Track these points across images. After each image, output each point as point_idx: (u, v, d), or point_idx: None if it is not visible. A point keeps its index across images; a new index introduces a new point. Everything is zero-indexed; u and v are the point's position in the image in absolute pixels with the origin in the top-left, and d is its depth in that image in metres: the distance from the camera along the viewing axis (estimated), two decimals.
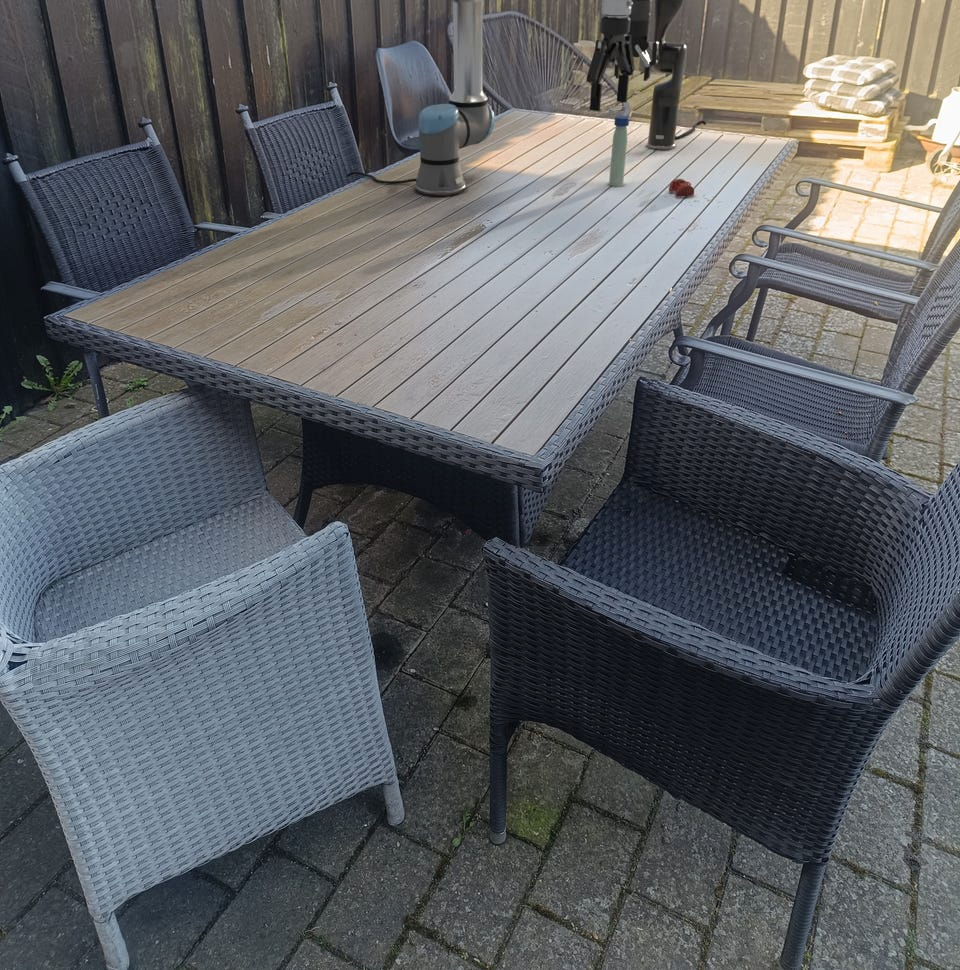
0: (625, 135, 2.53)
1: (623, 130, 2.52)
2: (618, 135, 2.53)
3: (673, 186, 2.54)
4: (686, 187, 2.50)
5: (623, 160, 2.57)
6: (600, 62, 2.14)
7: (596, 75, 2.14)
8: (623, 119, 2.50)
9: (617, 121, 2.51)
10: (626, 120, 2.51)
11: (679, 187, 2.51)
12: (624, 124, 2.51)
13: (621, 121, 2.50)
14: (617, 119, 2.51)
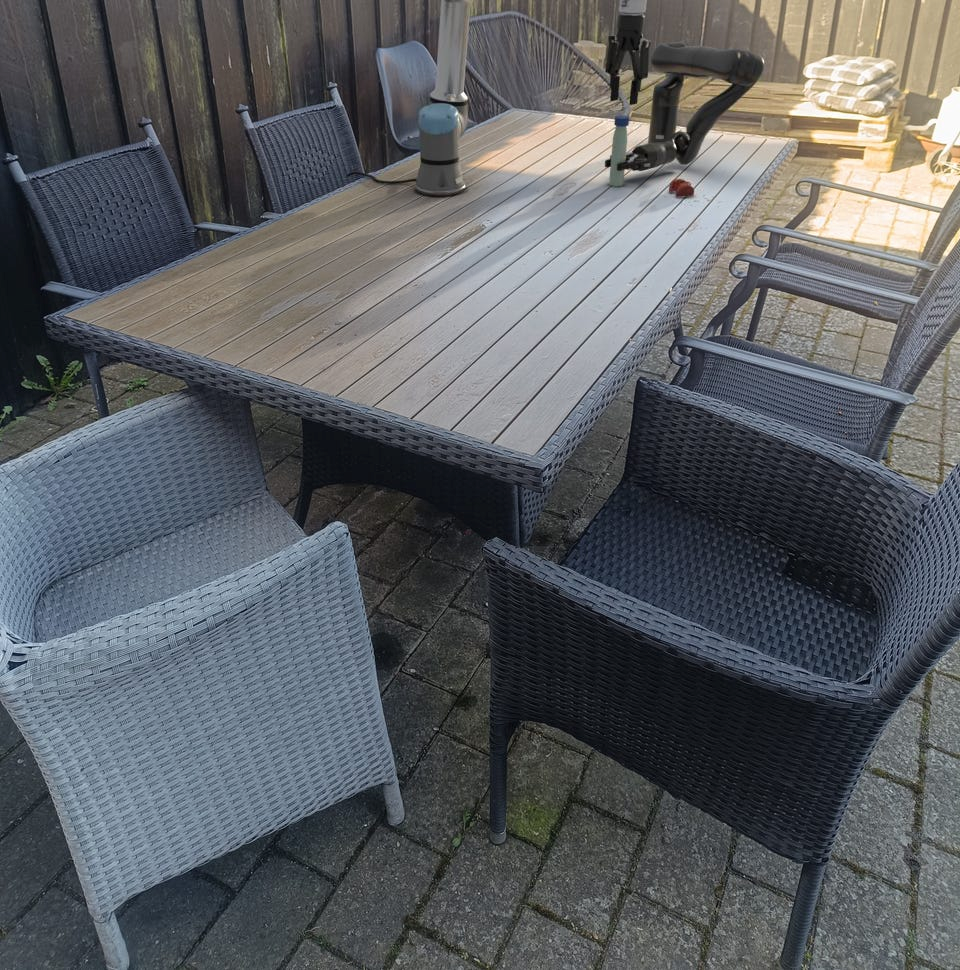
0: (625, 135, 2.53)
1: (623, 130, 2.52)
2: (618, 135, 2.53)
3: (673, 186, 2.54)
4: (686, 187, 2.50)
5: (623, 160, 2.57)
6: (608, 55, 2.45)
7: (606, 66, 2.47)
8: (623, 119, 2.50)
9: (617, 121, 2.51)
10: (626, 120, 2.51)
11: (679, 187, 2.51)
12: (624, 124, 2.51)
13: (621, 121, 2.50)
14: (617, 119, 2.51)
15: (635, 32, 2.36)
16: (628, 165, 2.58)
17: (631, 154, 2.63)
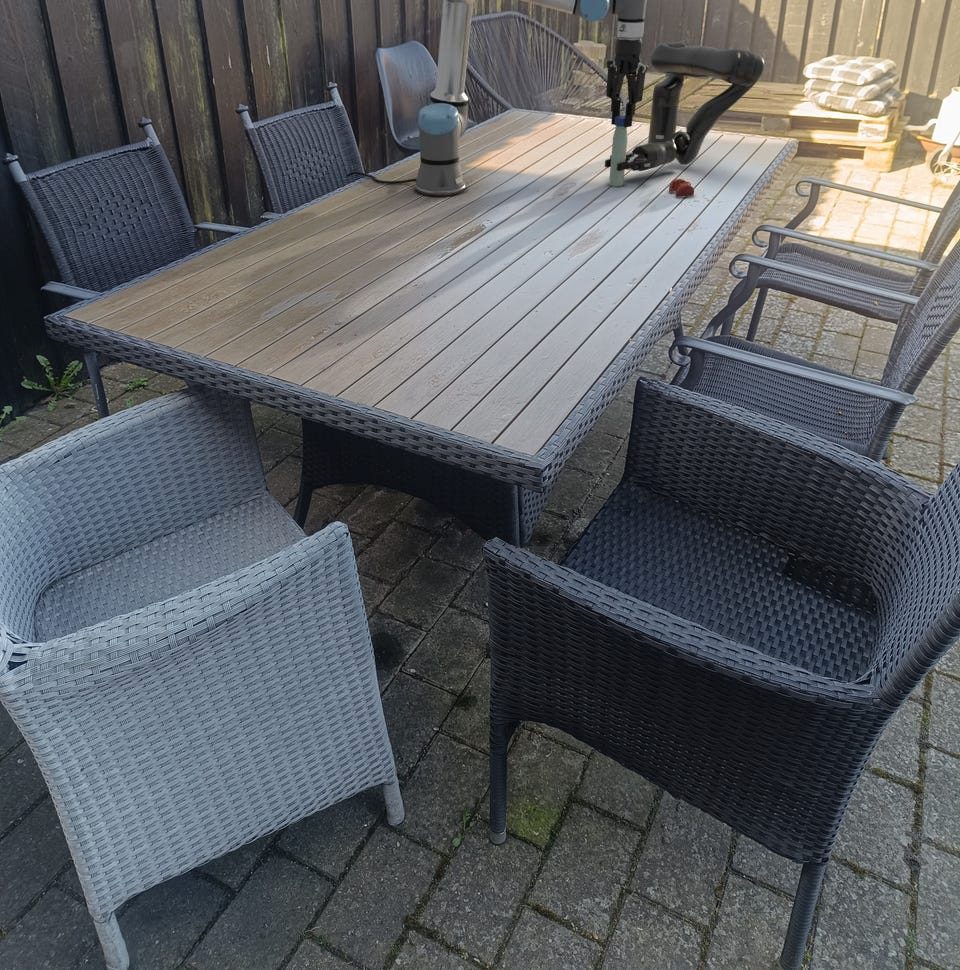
0: (625, 135, 2.53)
1: (623, 130, 2.52)
2: (618, 135, 2.53)
3: (673, 186, 2.54)
4: (686, 187, 2.50)
5: (623, 160, 2.57)
6: (608, 79, 2.49)
7: (607, 91, 2.50)
8: (623, 119, 2.50)
9: (617, 121, 2.51)
10: None
11: (679, 187, 2.51)
12: None
13: (621, 121, 2.50)
14: (617, 119, 2.51)
15: (633, 56, 2.40)
16: (628, 165, 2.58)
17: (631, 154, 2.63)
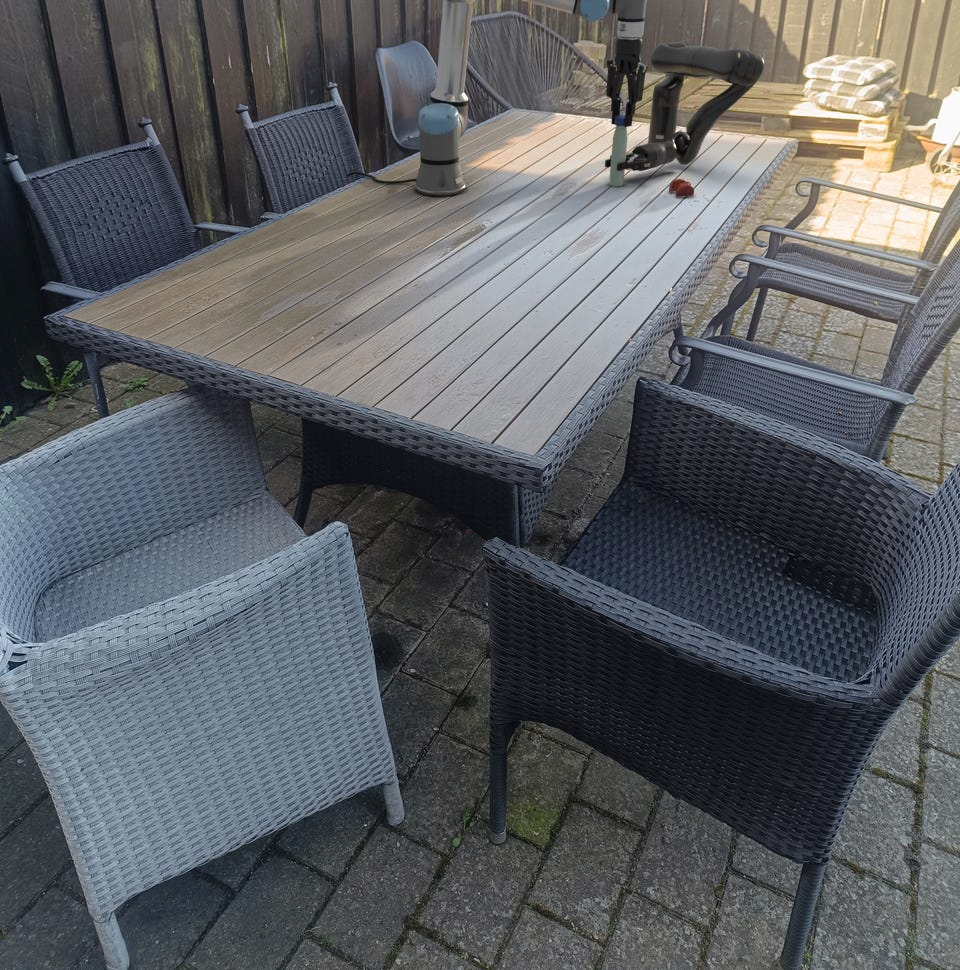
0: (625, 135, 2.53)
1: (623, 130, 2.52)
2: (618, 135, 2.53)
3: (673, 186, 2.54)
4: (686, 187, 2.50)
5: (623, 160, 2.57)
6: (608, 79, 2.48)
7: (607, 90, 2.50)
8: None
9: None
10: None
11: (679, 187, 2.51)
12: None
13: None
14: None
15: (633, 56, 2.40)
16: (628, 165, 2.58)
17: (631, 154, 2.63)
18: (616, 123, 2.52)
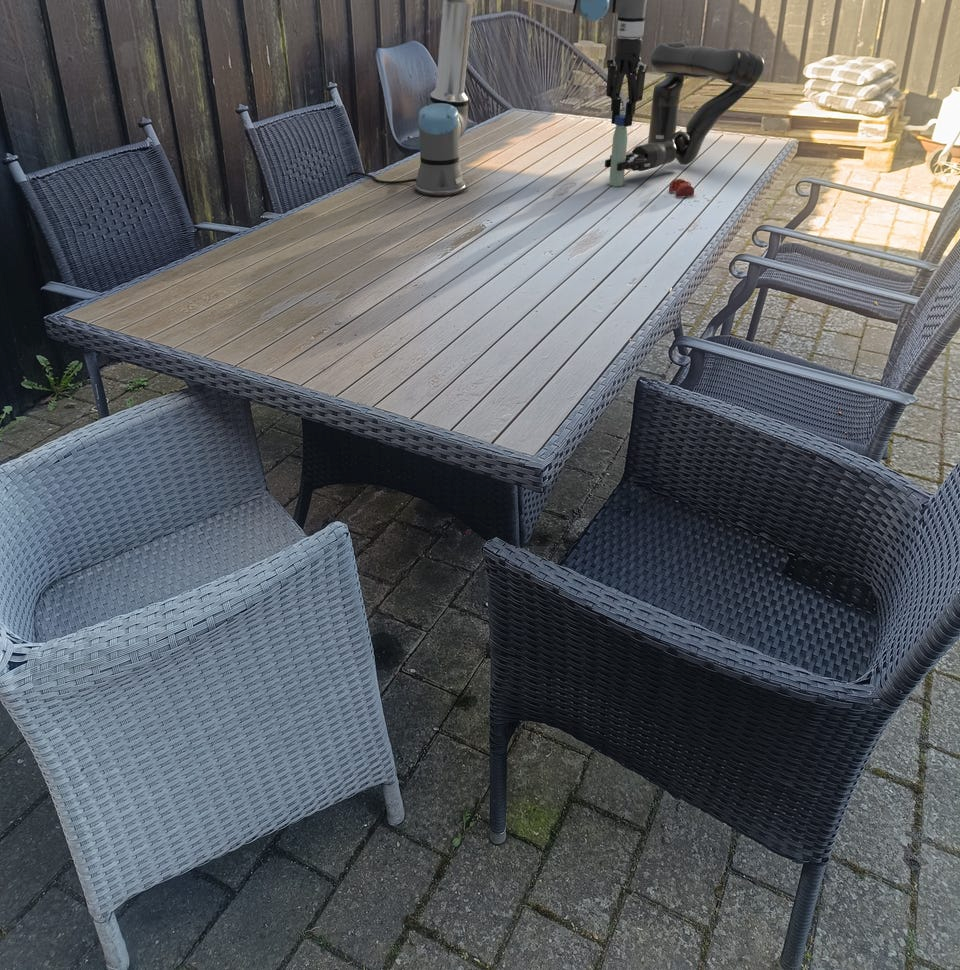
0: (625, 135, 2.53)
1: (623, 130, 2.52)
2: (618, 135, 2.53)
3: (673, 186, 2.54)
4: (686, 187, 2.50)
5: (623, 160, 2.57)
6: (608, 78, 2.48)
7: (607, 90, 2.50)
8: None
9: None
10: None
11: (679, 187, 2.51)
12: None
13: None
14: None
15: (633, 55, 2.40)
16: (628, 165, 2.58)
17: (631, 154, 2.63)
18: None
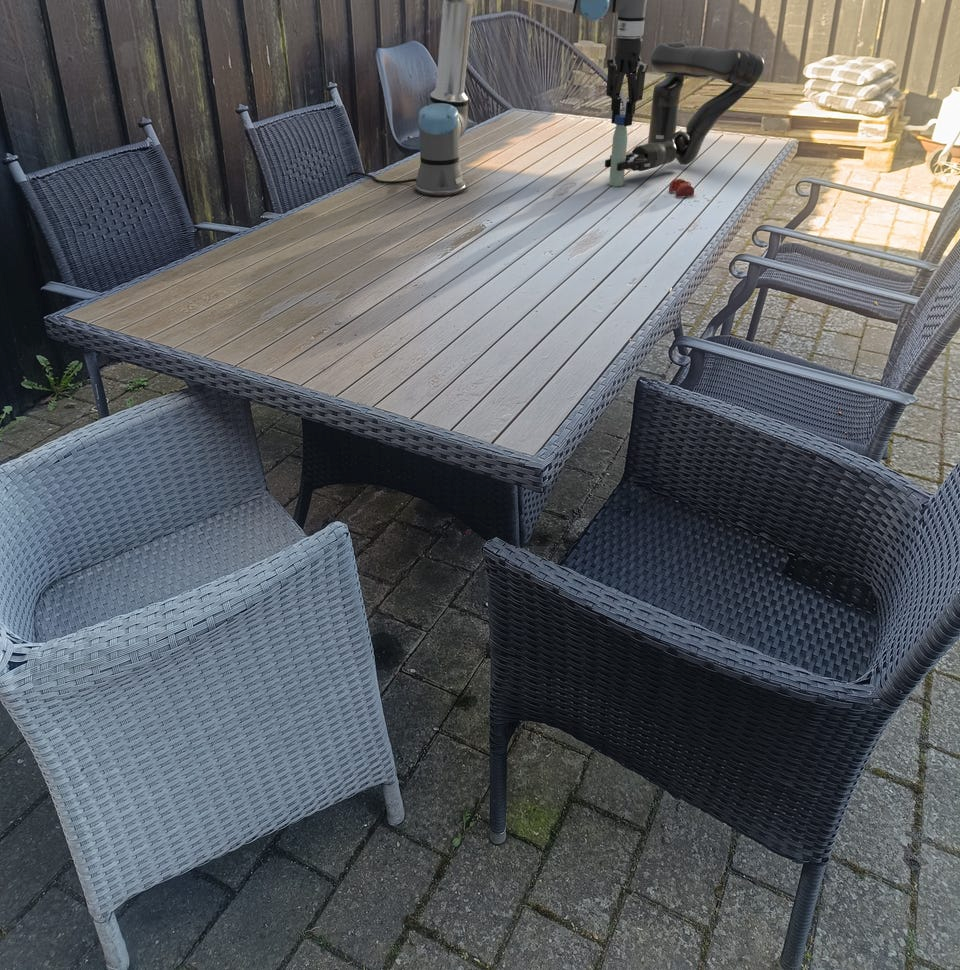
0: (625, 135, 2.53)
1: (623, 130, 2.52)
2: (618, 135, 2.53)
3: (673, 186, 2.54)
4: (686, 187, 2.50)
5: (623, 160, 2.57)
6: (608, 78, 2.48)
7: (607, 90, 2.50)
8: (616, 117, 2.51)
9: None
10: (619, 119, 2.51)
11: (679, 187, 2.51)
12: (616, 122, 2.51)
13: (615, 119, 2.52)
14: None
15: (633, 55, 2.40)
16: (628, 165, 2.58)
17: (631, 154, 2.63)
18: None
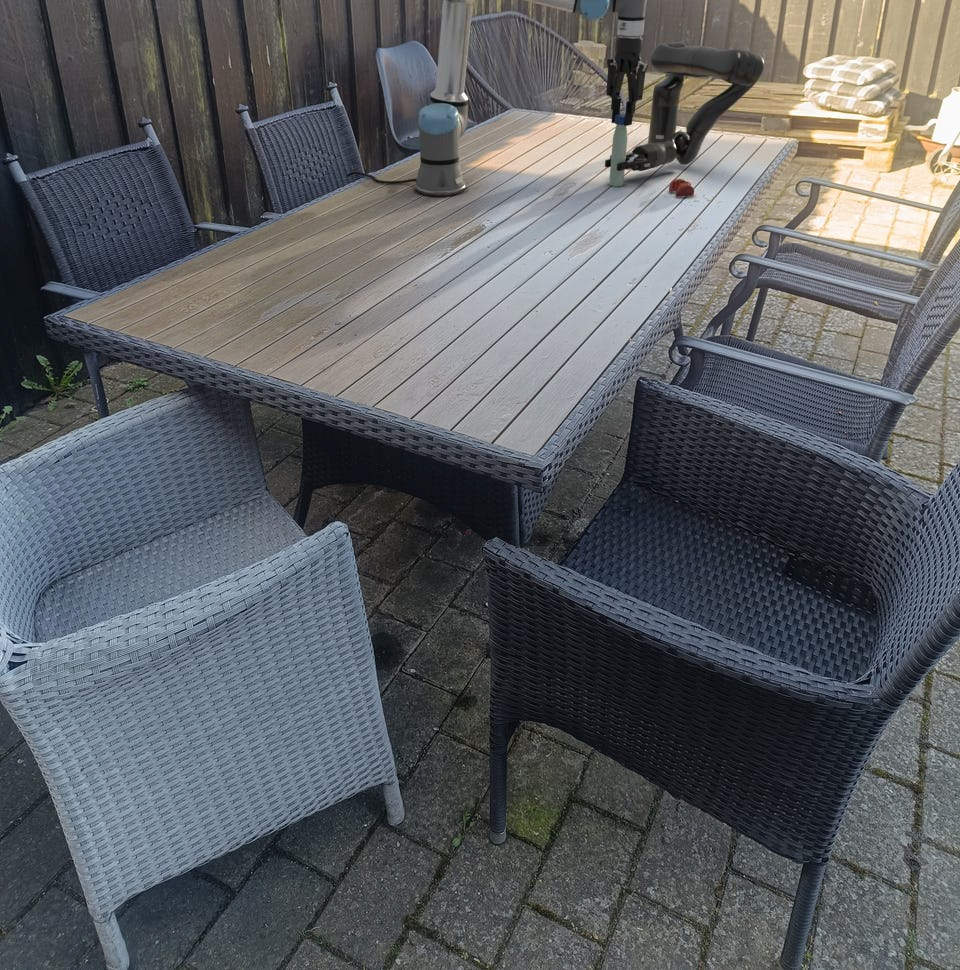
0: (625, 135, 2.53)
1: (623, 130, 2.52)
2: (618, 135, 2.53)
3: (673, 186, 2.54)
4: (686, 187, 2.50)
5: (623, 160, 2.57)
6: (608, 78, 2.48)
7: (607, 89, 2.50)
8: None
9: (620, 120, 2.50)
10: None
11: (679, 187, 2.51)
12: None
13: None
14: (620, 118, 2.50)
15: (633, 54, 2.39)
16: (628, 165, 2.58)
17: (631, 154, 2.63)
18: None
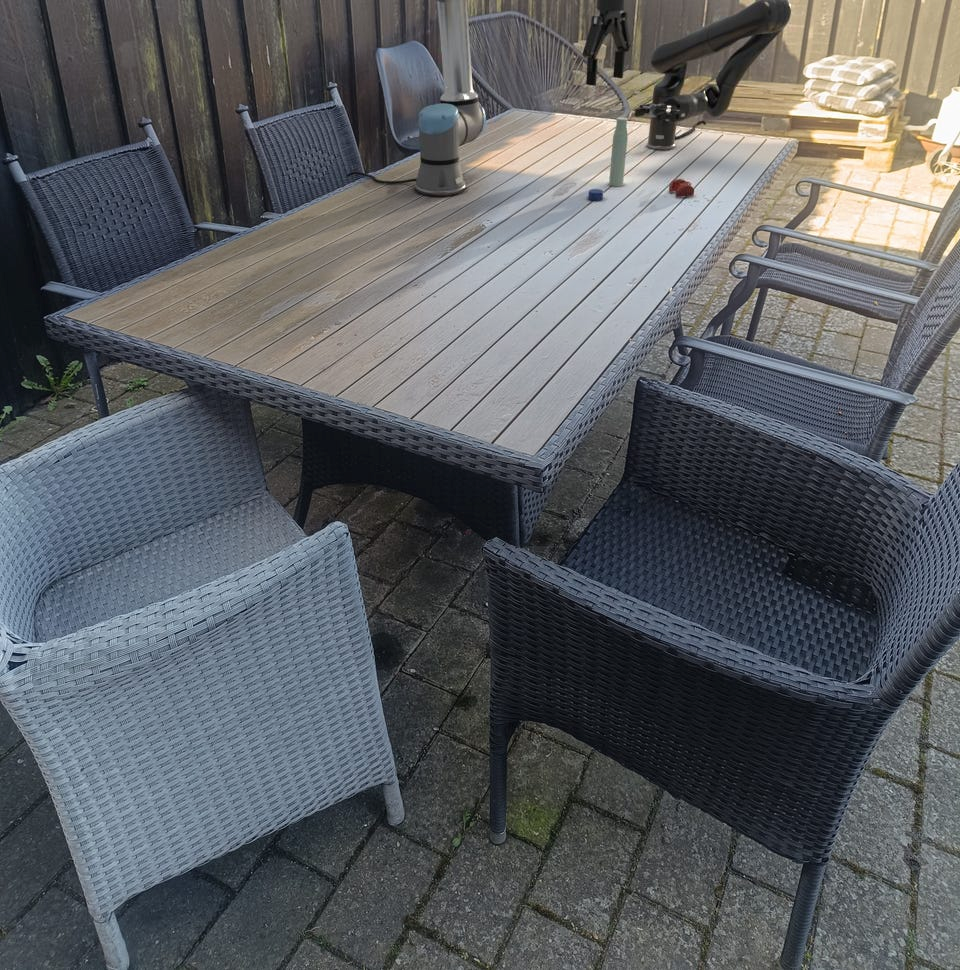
0: (625, 135, 2.53)
1: (623, 130, 2.52)
2: (618, 135, 2.53)
3: (673, 186, 2.54)
4: (686, 187, 2.50)
5: (623, 160, 2.57)
6: (596, 37, 2.20)
7: (592, 50, 2.21)
8: None
9: None
10: None
11: (679, 187, 2.51)
12: None
13: None
14: None
15: (619, 10, 2.24)
16: (667, 116, 2.56)
17: (663, 105, 2.62)
18: (593, 198, 2.49)
